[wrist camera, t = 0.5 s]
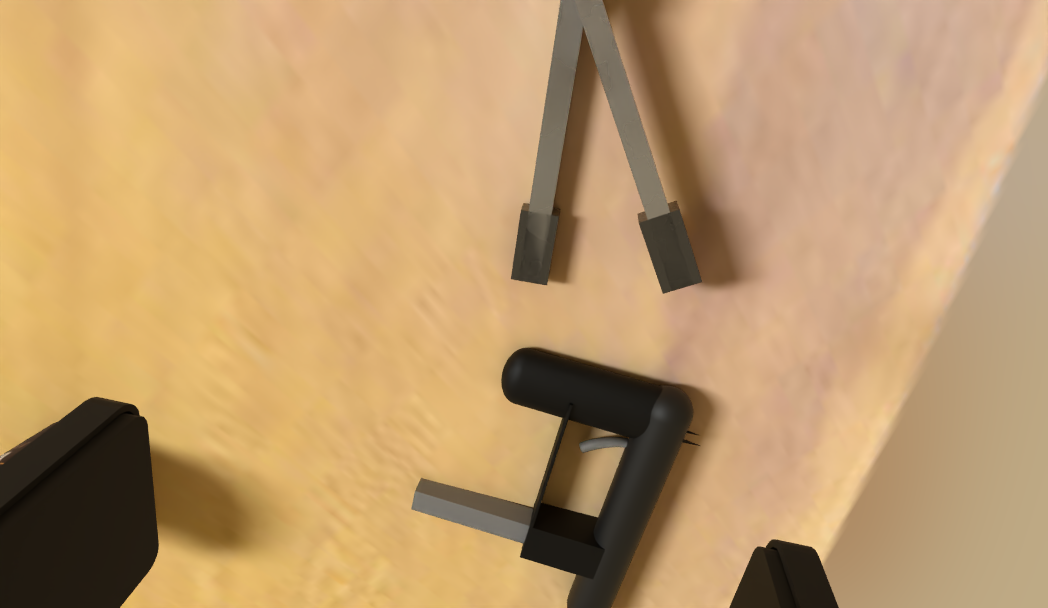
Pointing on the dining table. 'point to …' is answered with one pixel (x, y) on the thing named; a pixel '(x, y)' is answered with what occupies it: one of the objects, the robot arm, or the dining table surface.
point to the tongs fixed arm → (549, 154)
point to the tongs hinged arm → (640, 158)
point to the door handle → (598, 402)
